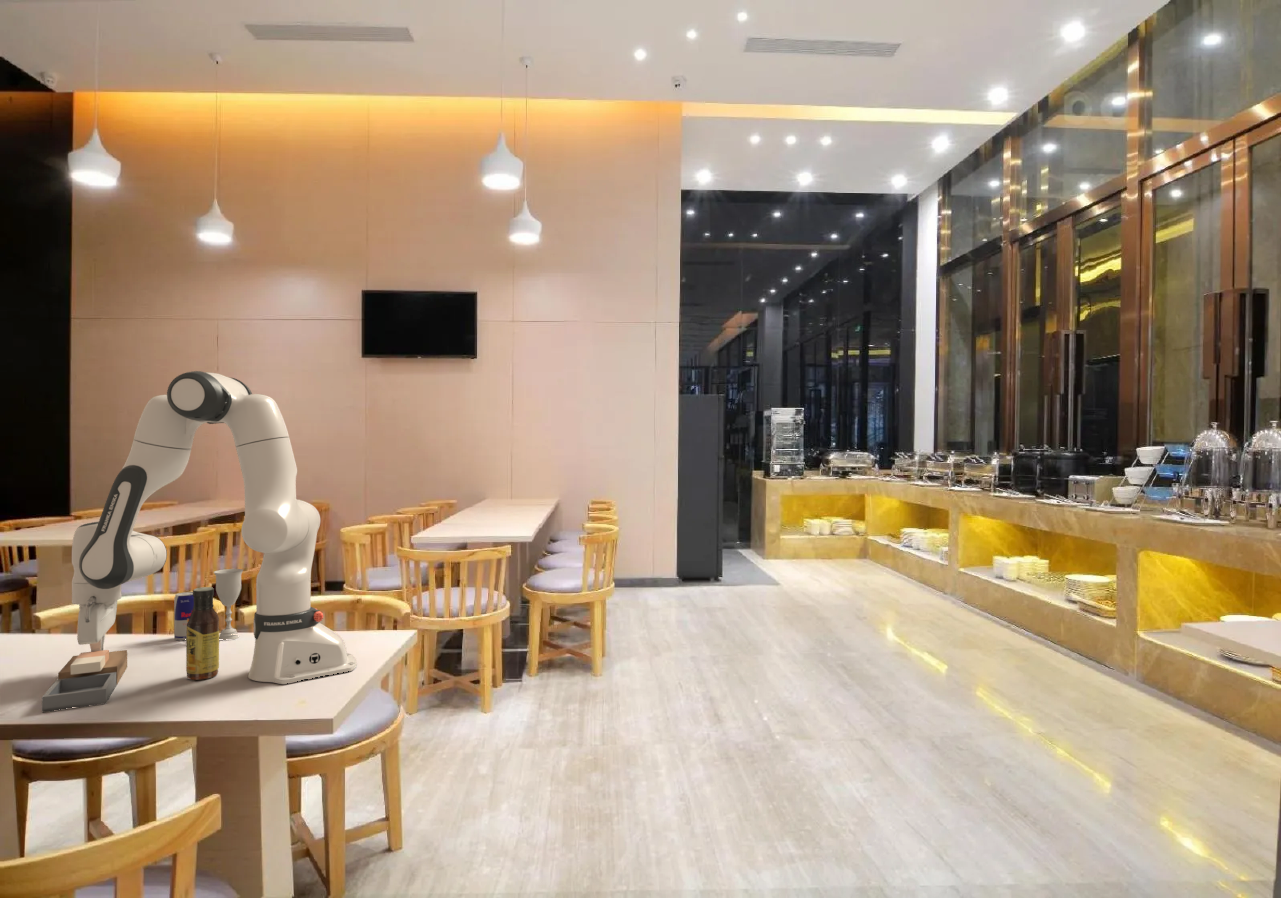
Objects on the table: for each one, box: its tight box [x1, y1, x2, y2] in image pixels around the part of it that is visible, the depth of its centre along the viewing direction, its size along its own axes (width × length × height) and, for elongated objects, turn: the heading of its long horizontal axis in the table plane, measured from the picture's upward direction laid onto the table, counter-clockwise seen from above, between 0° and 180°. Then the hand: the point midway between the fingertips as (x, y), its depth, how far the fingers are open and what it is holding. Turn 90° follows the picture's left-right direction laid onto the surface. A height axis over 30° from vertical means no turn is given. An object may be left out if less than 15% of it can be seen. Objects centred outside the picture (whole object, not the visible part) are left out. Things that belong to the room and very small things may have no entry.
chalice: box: [213, 568, 244, 641], centre depth 191 cm, size 7×7×18 cm
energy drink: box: [173, 591, 194, 641], centre depth 191 cm, size 5×5×12 cm
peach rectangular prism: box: [76, 649, 110, 663], centre depth 156 cm, size 5×5×2 cm
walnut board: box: [57, 649, 128, 686], centre depth 157 cm, size 10×14×4 cm
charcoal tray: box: [41, 672, 117, 712], centre depth 145 cm, size 10×12×3 cm
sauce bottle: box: [185, 586, 220, 681], centre depth 159 cm, size 6×6×20 cm
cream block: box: [71, 655, 105, 675], centre depth 151 cm, size 5×5×2 cm
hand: (97, 654), depth 159 cm, fingers closed
